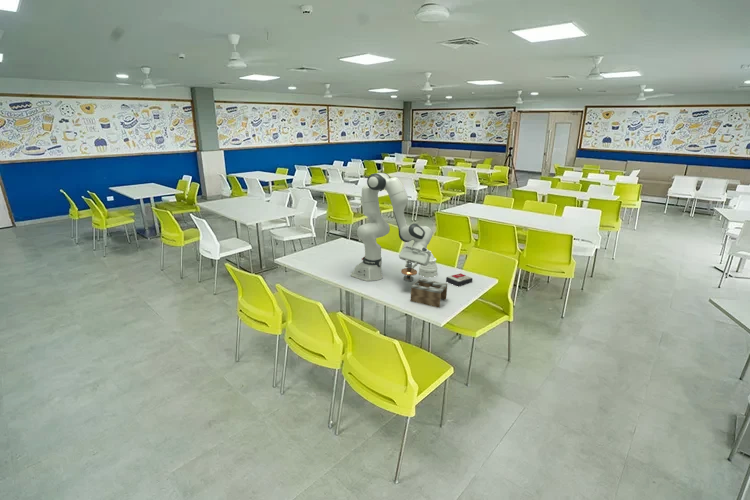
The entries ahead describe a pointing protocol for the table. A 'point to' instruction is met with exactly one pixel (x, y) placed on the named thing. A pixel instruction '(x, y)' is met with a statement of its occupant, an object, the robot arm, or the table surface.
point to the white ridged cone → (429, 268)
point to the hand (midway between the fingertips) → (408, 267)
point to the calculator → (459, 279)
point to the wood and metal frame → (428, 292)
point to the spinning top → (408, 272)
